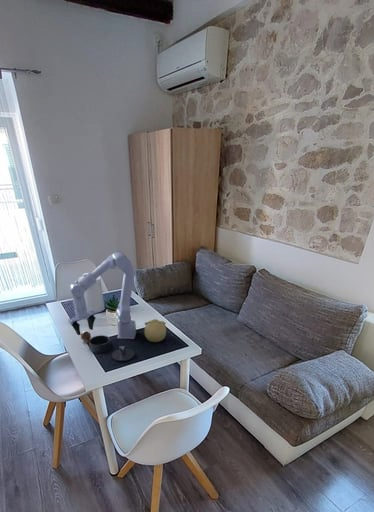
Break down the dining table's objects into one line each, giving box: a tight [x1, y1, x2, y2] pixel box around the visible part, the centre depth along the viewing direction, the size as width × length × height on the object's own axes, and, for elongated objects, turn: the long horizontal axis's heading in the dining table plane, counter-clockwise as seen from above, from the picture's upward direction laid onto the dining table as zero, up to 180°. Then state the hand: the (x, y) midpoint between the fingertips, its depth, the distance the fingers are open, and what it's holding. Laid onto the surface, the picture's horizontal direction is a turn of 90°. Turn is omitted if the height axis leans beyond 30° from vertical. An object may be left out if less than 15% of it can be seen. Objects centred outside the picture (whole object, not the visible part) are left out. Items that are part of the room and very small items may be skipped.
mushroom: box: [80, 330, 92, 344], centre depth 162 cm, size 5×5×6 cm
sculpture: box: [144, 318, 167, 343], centre depth 165 cm, size 12×12×11 cm
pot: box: [88, 334, 112, 354], centre depth 158 cm, size 10×10×5 cm
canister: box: [76, 275, 106, 314], centre depth 194 cm, size 14×14×20 cm
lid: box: [111, 345, 135, 362], centre depth 151 cm, size 11×11×5 cm
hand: (84, 331), depth 161 cm, fingers open, 7 cm apart
